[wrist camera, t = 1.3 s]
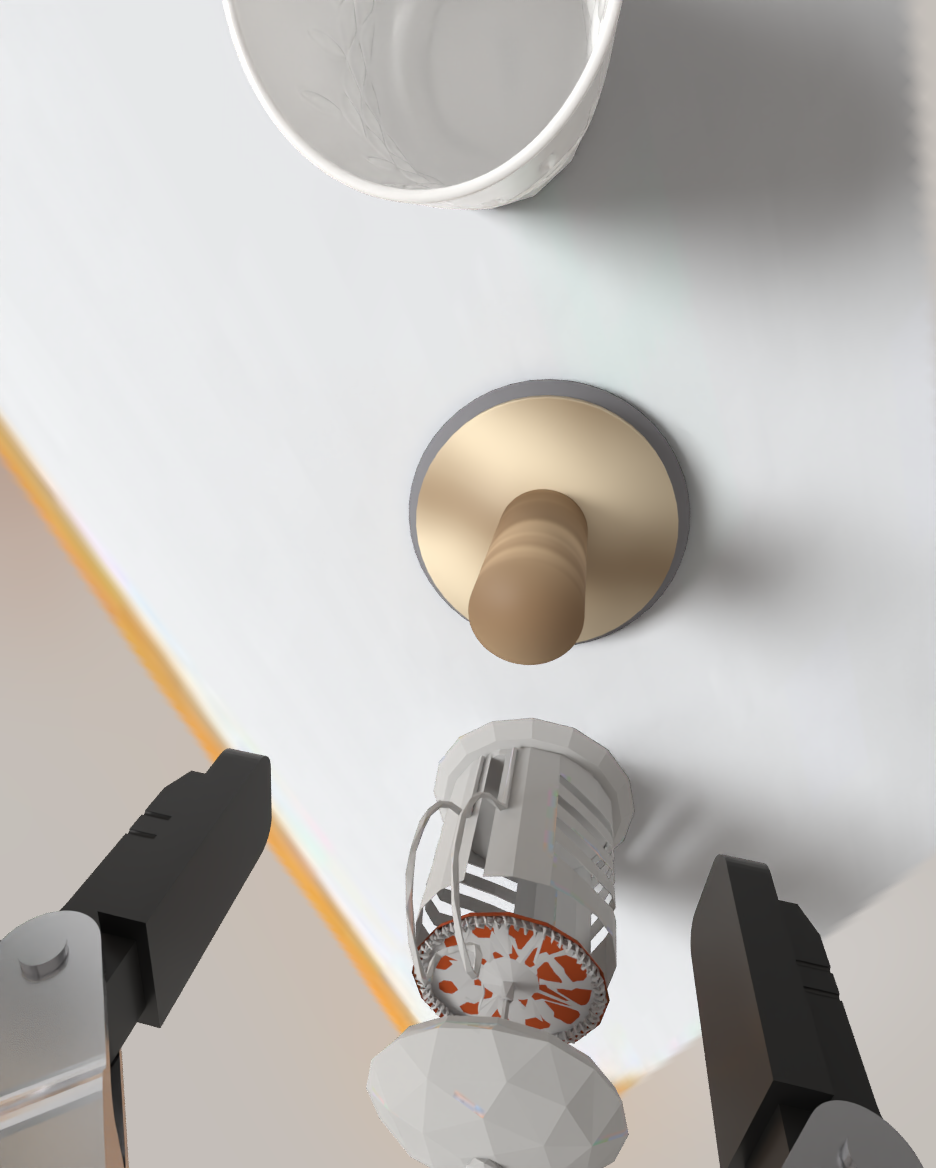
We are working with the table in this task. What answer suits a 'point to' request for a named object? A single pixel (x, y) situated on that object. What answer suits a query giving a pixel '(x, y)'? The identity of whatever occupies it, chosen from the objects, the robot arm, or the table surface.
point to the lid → (546, 524)
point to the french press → (512, 958)
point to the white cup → (430, 90)
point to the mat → (577, 392)
